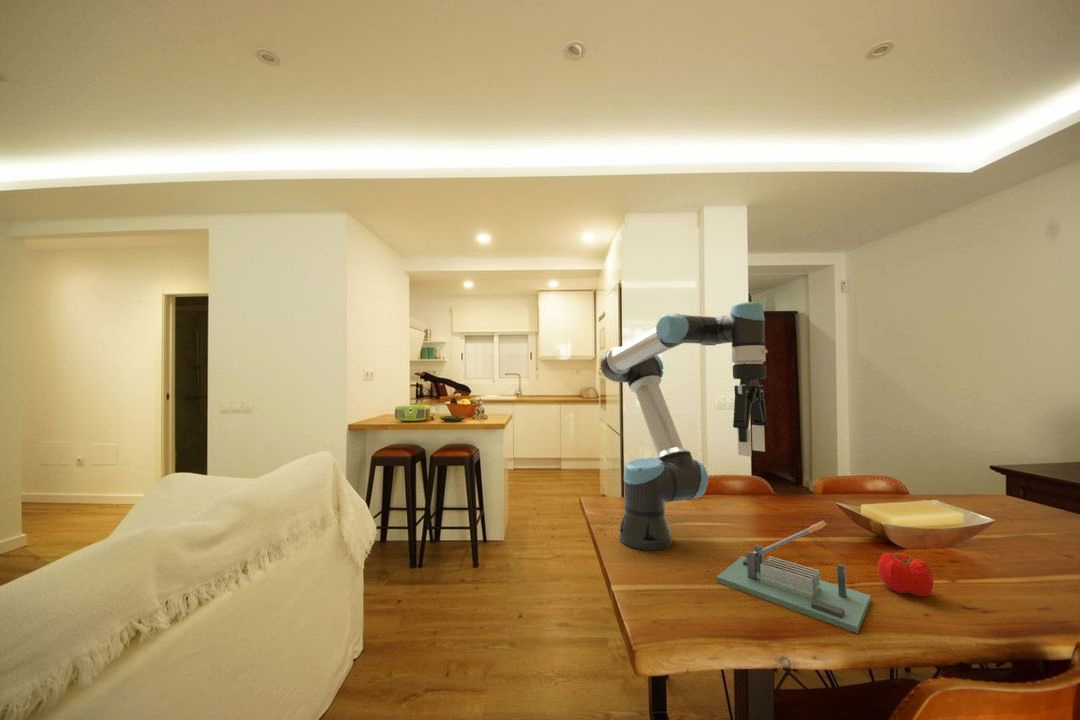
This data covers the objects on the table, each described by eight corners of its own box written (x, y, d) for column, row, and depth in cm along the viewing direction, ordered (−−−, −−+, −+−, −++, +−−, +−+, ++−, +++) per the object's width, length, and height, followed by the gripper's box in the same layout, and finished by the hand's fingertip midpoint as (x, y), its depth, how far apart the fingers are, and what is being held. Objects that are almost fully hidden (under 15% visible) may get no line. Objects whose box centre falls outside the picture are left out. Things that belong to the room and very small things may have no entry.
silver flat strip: (752, 560, 92) (748, 554, 92) (757, 556, 94) (753, 550, 94) (823, 528, 82) (818, 522, 82) (827, 525, 84) (822, 518, 85)
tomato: (869, 581, 92) (868, 548, 92) (908, 581, 91) (906, 549, 92) (905, 603, 82) (903, 567, 83) (948, 604, 82) (946, 567, 82)
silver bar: (747, 578, 91) (746, 550, 91) (758, 567, 96) (757, 541, 96) (839, 609, 78) (838, 577, 78) (846, 595, 83) (845, 565, 83)
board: (716, 581, 91) (716, 573, 91) (742, 560, 102) (742, 552, 102) (857, 633, 72) (857, 622, 72) (870, 601, 83) (870, 591, 83)
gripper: (749, 361, 88) (752, 461, 87) (778, 364, 103) (782, 449, 102) (715, 362, 94) (718, 456, 92) (748, 365, 108) (751, 446, 107)
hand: (752, 452), depth 97 cm, fingers open, 9 cm apart
